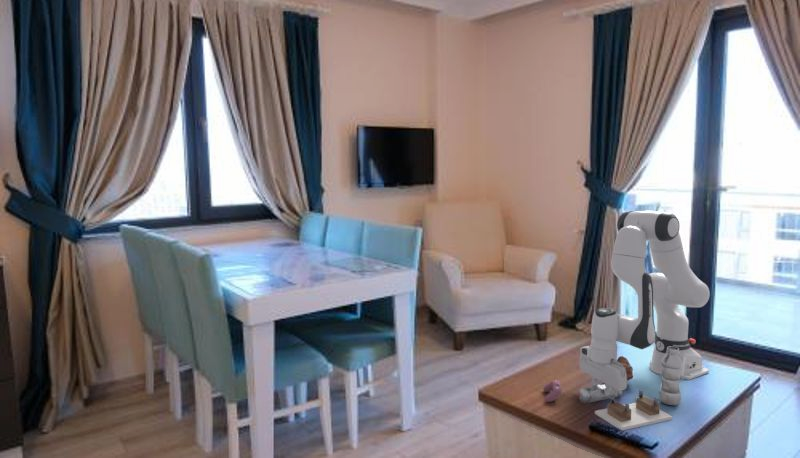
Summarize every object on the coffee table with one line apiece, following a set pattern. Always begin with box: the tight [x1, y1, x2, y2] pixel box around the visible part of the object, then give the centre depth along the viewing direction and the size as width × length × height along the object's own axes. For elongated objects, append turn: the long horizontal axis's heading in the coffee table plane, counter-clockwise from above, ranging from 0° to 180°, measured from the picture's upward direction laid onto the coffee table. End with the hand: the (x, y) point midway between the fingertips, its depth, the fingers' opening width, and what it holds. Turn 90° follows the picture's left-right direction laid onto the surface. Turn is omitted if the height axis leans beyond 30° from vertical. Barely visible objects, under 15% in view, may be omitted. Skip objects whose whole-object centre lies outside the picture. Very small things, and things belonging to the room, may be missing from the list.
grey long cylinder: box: [579, 383, 623, 404], centre depth 188 cm, size 18×4×4 cm, turn 111°
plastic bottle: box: [658, 346, 683, 406], centre depth 183 cm, size 6×7×20 cm
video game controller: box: [542, 379, 563, 403], centre depth 189 cm, size 10×5×7 cm, turn 169°
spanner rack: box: [594, 389, 674, 431], centre depth 174 cm, size 21×12×6 cm, turn 111°
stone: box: [617, 355, 634, 382], centre depth 200 cm, size 13×8×10 cm
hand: (601, 392), depth 188 cm, fingers closed on grey long cylinder, 3 cm apart
